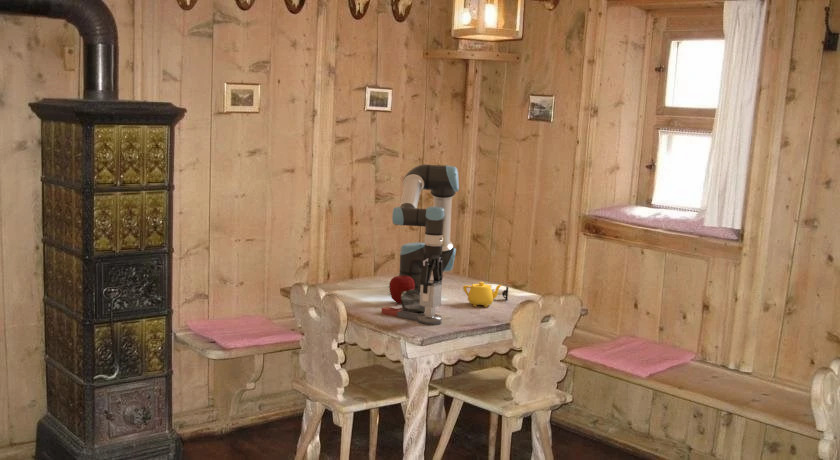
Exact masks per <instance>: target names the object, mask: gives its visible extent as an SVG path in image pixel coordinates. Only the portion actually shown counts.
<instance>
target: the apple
mask: <svg viewBox="0 0 840 460" xmlns="http://www.w3.org/2000/svg"><path fill="white" fill-rule="evenodd" d="M388 285H389V288H388V289H389V294H390V296H391V299H392V300H393V301H394V302H395V303H397V304H398V305H399V304H400V305H402V302H401V294H402V293H401V292H403V291H408V290H411V289H412V290H414V289H415V282H414V280H413V279H412V278H411V277H410V276H399V275H397V276H394V277H393V278H391V279H390V282H389V284H388Z"/></svg>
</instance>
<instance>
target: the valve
mask: <svg viewBox="0 0 840 460" xmlns="http://www.w3.org/2000/svg"><path fill="white" fill-rule="evenodd" d="M489 285H490V286H491V287H492V285H491V284H489ZM495 290H496V288H495V289H492V292H493V293H494V292H495ZM500 295H502V297H503V298H504V301H508V299H509V296H508V295H509V286H506V287H505V289H504V290H503V291H500V290H498V295H497V296H500Z"/></svg>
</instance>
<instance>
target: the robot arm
mask: <svg viewBox="0 0 840 460" xmlns="http://www.w3.org/2000/svg"><path fill="white" fill-rule="evenodd" d="M459 179H460V178H459V171H458V168H457V167H456V166H453V165H441V164H439V165H437V164H424V163H423V164H420V165H416V166H414V167H413V168H411V169H410V170H409V171H408V172H407V173H406V174H405V176H404V177H403V182H402V186H403V191H402V196H401V198H400V203H399V206H395V207H393V209H392V215H391V216H392V218H391V219H392V223H393V225H398V226H408V227H410V226H411V227H425V228H424V241H423V242H416V241H415V242H408V243H404V244H402V245H401V247H400V251H399V252H400V253H399V271H398V272H399V275H398V276H410V277H411V278H412V279H413V280H414V282H415V289H414V290H415V291H418V293H419V294H420V288H421V285H423V301H428V302H429V295H430V286H429V282H430V280H431V277H433V279H432V280H435V281H441V282H442V283H443V276H444V275H443V272H451V271H452V270H453V269H454V263H455V258H456V252H457V248H456V247H454V244H453V242H452V241H451V232H452V231H451V229H452V209H453V208H452V207H453V198H454V197H455V196H456V193H457V192H459V189H460V184H459V182H460V181H459ZM422 190H426V191H430V195H431V196H432V197H433V204H432V206H427V207H426V208H418V206H419V201H420V197H421V191H422Z"/></svg>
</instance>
